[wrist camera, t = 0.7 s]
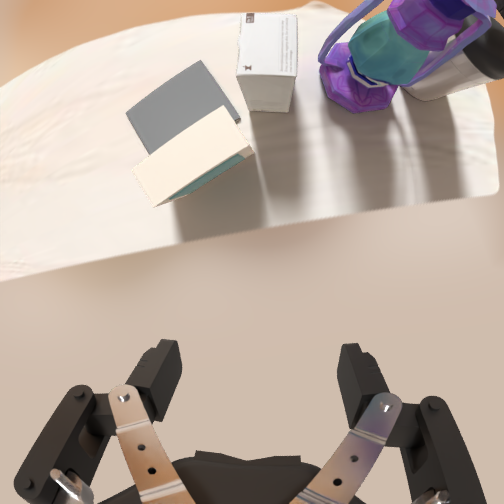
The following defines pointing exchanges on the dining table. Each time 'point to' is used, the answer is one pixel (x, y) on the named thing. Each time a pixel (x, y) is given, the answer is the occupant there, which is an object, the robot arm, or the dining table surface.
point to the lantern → (395, 48)
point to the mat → (177, 106)
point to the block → (192, 158)
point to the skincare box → (267, 60)
